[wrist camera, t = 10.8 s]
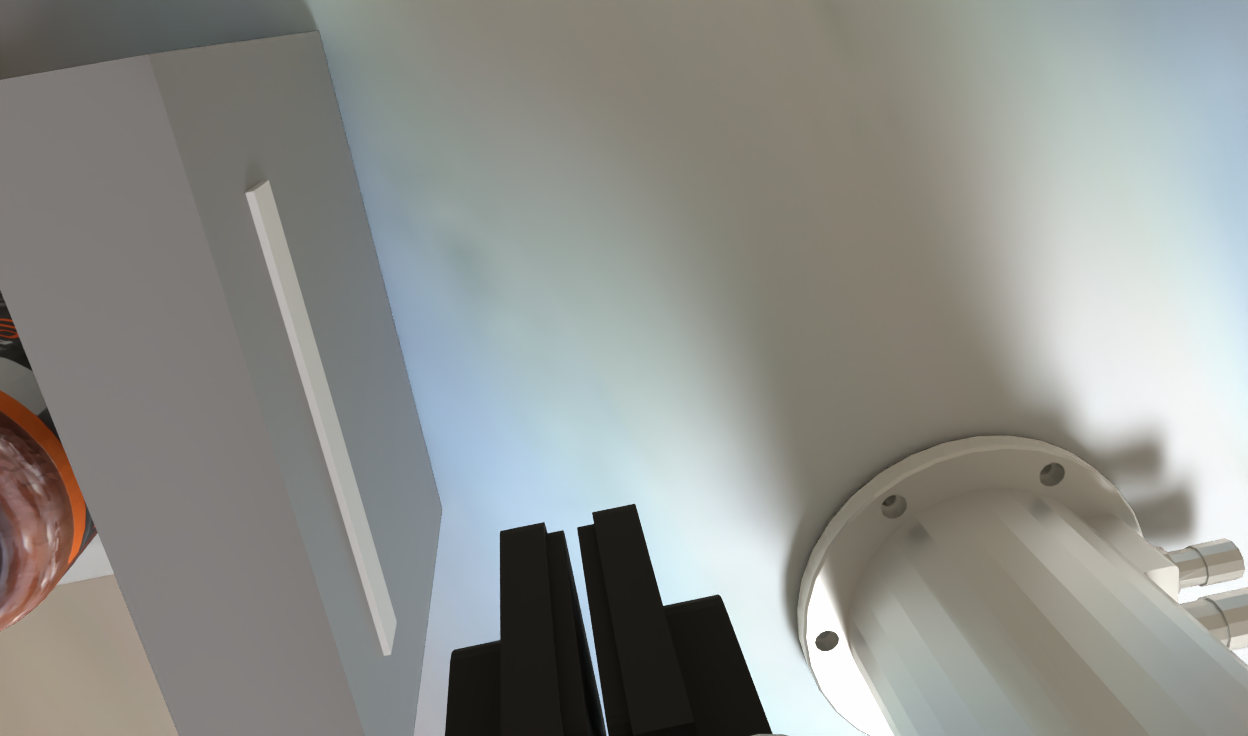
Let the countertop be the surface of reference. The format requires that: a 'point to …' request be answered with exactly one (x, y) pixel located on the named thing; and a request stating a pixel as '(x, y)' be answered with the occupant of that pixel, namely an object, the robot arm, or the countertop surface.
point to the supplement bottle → (33, 488)
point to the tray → (226, 380)
